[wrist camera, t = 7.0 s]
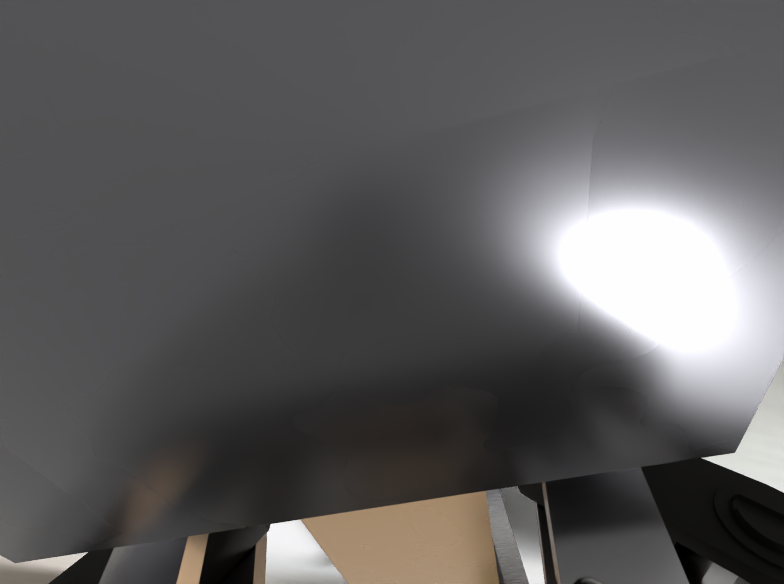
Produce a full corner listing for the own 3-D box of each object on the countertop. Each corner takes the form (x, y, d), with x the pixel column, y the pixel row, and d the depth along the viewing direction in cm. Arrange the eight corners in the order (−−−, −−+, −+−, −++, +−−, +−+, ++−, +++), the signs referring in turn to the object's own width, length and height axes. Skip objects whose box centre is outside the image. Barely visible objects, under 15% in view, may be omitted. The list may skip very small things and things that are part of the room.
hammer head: (502, 31, 7) (1226, -507, 1) (511, 243, 9) (735, 452, 3) (131, 135, 7) (-707, 181, 2) (229, 305, 10) (15, 562, 4)
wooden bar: (416, 134, 7) (460, 150, 3) (481, 516, 15) (515, 652, 11) (233, 182, 7) (63, 250, 3) (393, 529, 15) (397, 665, 11)
